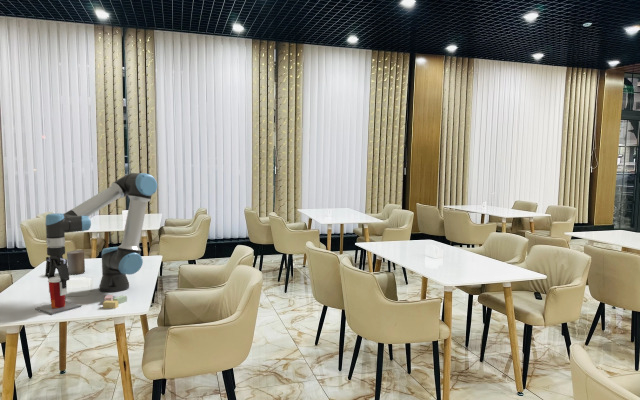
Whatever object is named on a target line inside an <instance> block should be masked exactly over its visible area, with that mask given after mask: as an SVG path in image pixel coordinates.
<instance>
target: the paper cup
mask: <svg viewBox="0 0 640 400" xmlns="http://www.w3.org/2000/svg"><path fill="white" fill-rule="evenodd" d="M54 276H55V277H51V278H49V280H47V282H48V290H49V289H50V293H49V296H50V297H49V298H50V304H51V306H52V308H62V307H64V306H65V301H66V295H62V296H60V282H59V281H61V280H60V276H59V275H57V276H56V275H54Z"/></svg>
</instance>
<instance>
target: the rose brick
mask: <svg viewBox="0 0 640 400" xmlns="http://www.w3.org/2000/svg"><path fill="white" fill-rule="evenodd" d="M113 296H114V295H113V294H106V295H105V297H104V298H103V299H104V301H113V298H114V297H113Z"/></svg>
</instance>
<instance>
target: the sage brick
mask: <svg viewBox="0 0 640 400" xmlns="http://www.w3.org/2000/svg"><path fill="white" fill-rule="evenodd" d="M113 301H118V305H120V304H124V303H127V302H128V297H127V295H123V294H122V295H120V296H119V295H118V296H116V297H113Z"/></svg>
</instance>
